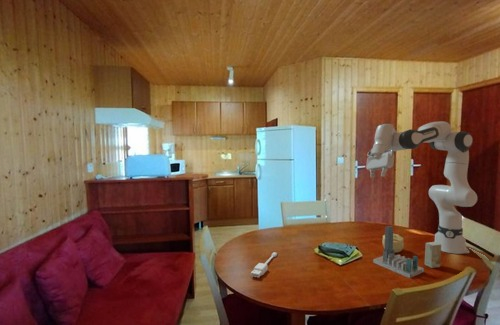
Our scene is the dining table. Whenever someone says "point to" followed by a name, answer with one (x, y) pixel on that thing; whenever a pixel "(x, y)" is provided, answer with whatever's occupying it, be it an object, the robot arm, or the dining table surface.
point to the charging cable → (261, 267)
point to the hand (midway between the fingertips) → (377, 177)
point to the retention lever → (389, 239)
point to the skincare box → (432, 254)
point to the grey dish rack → (399, 264)
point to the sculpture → (395, 242)
